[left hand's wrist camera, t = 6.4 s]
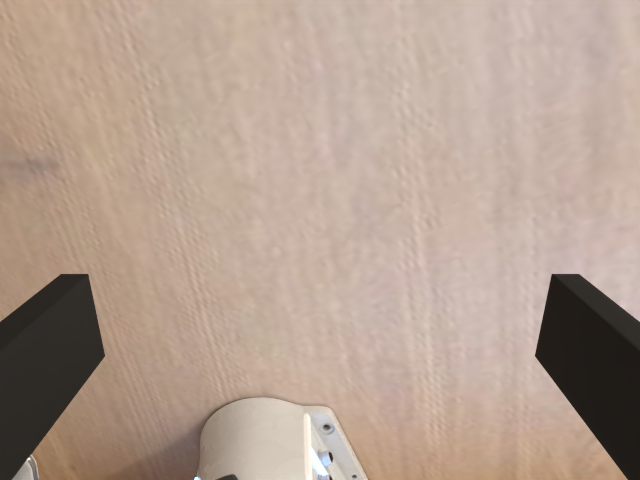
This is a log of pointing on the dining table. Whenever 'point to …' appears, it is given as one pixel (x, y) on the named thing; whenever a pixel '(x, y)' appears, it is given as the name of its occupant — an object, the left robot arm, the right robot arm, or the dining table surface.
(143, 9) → the dining table surface
